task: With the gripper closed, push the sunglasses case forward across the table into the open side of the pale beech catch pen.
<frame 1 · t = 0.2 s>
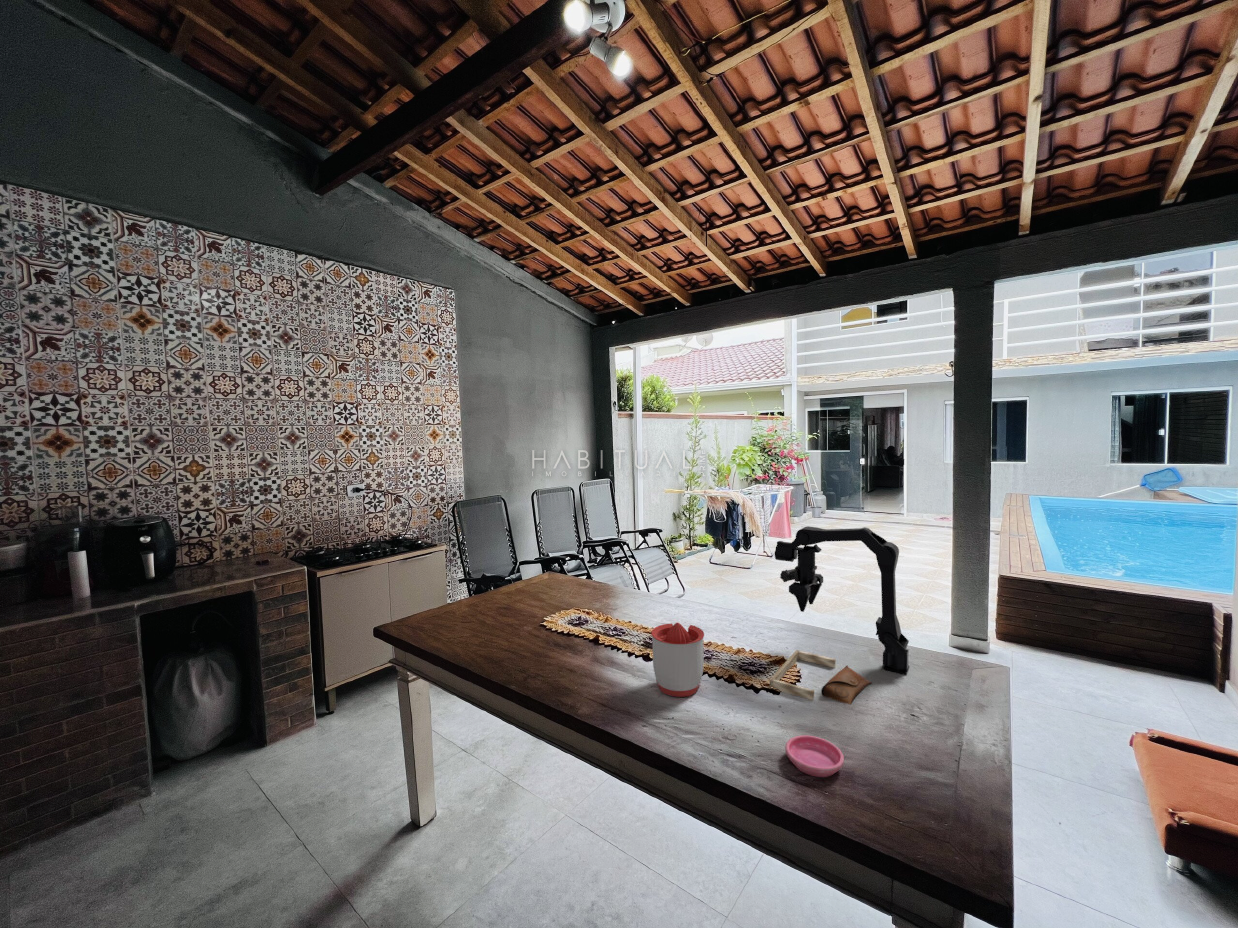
hand: (806, 607, 175), 14 cm above the table, fingers open, 9 cm apart
citrus juicer: (678, 687, 151), on the table
saucer: (814, 764, 115), on the table
sunglasses case: (847, 690, 148), on the table
catch pen: (804, 677, 155), on the table
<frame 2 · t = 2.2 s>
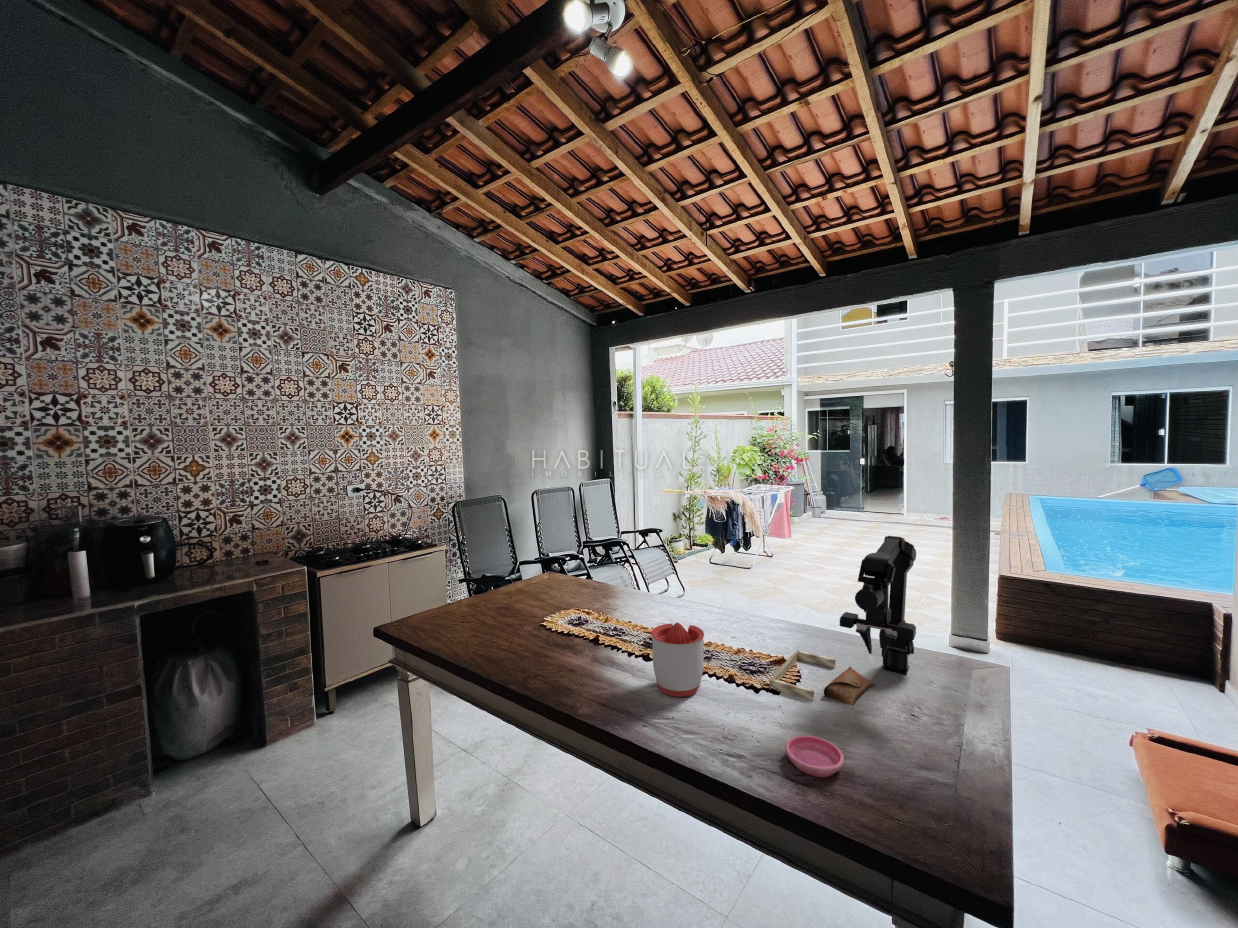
hand: (876, 654, 143), 12 cm above the table, fingers open, 3 cm apart
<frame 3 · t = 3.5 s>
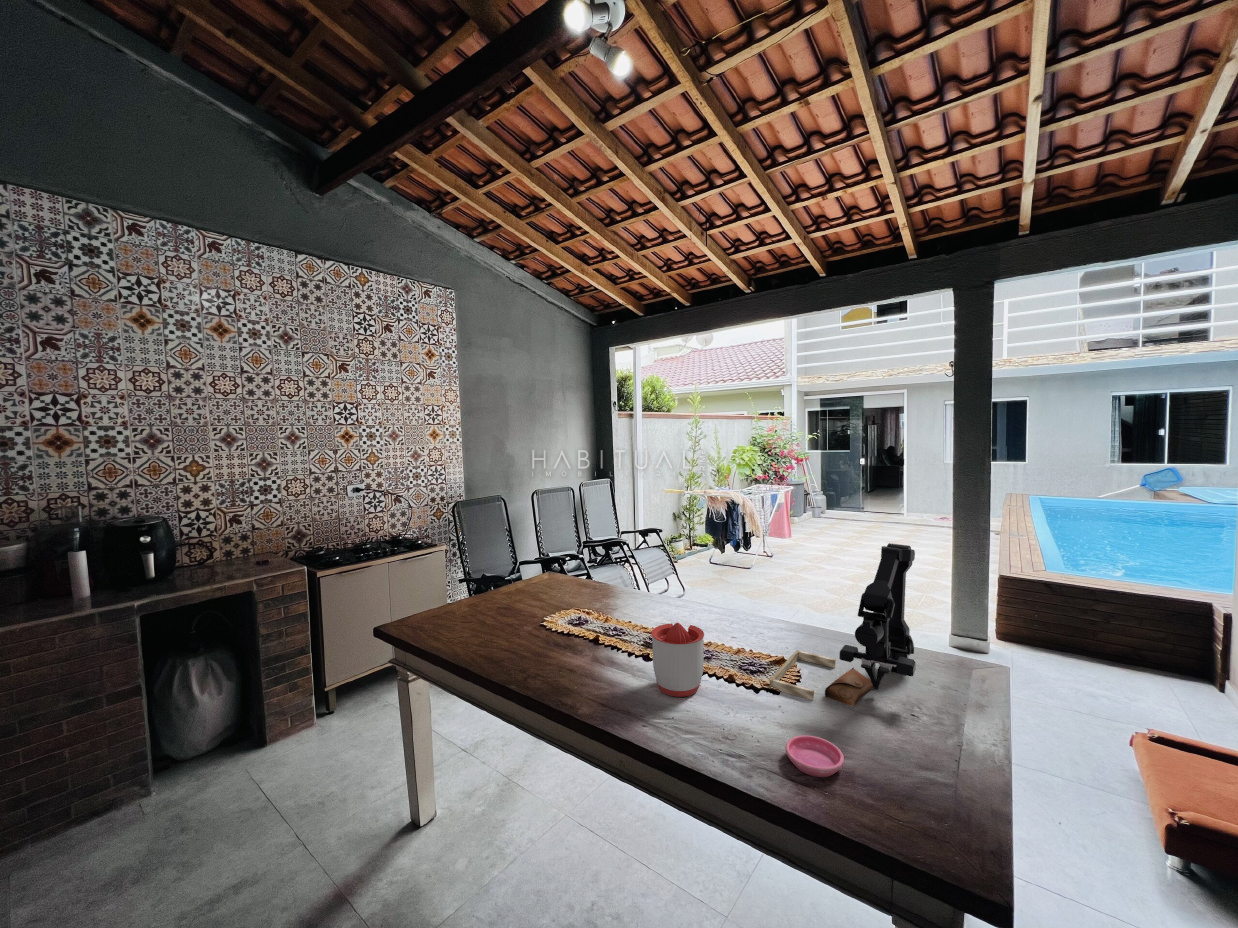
hand: (876, 688, 143), 2 cm above the table, fingers closed
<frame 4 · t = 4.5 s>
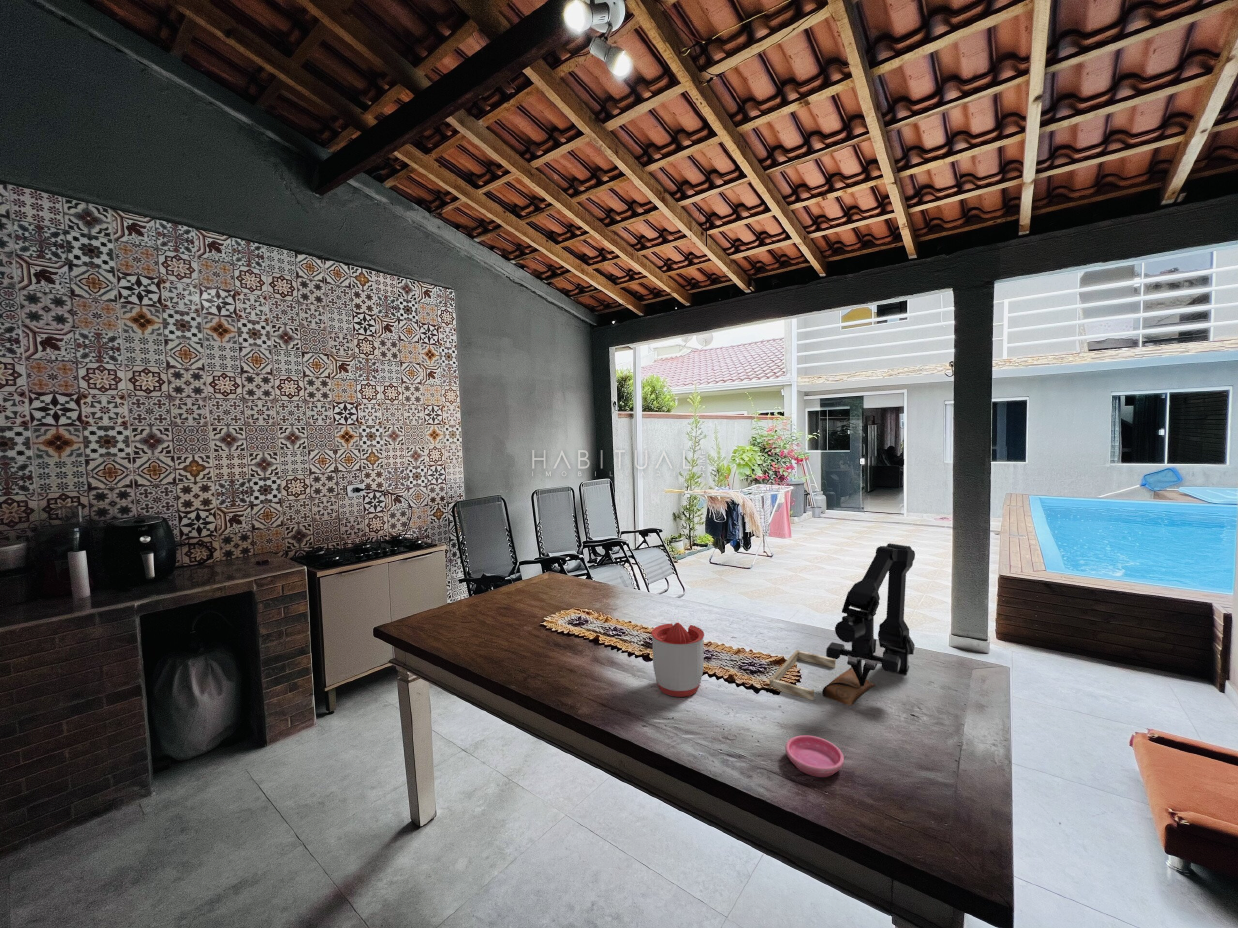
hand: (862, 685, 145), 2 cm above the table, fingers closed
sunglasses case: (849, 692, 147), on the table, touching gripper
everything else where it was.
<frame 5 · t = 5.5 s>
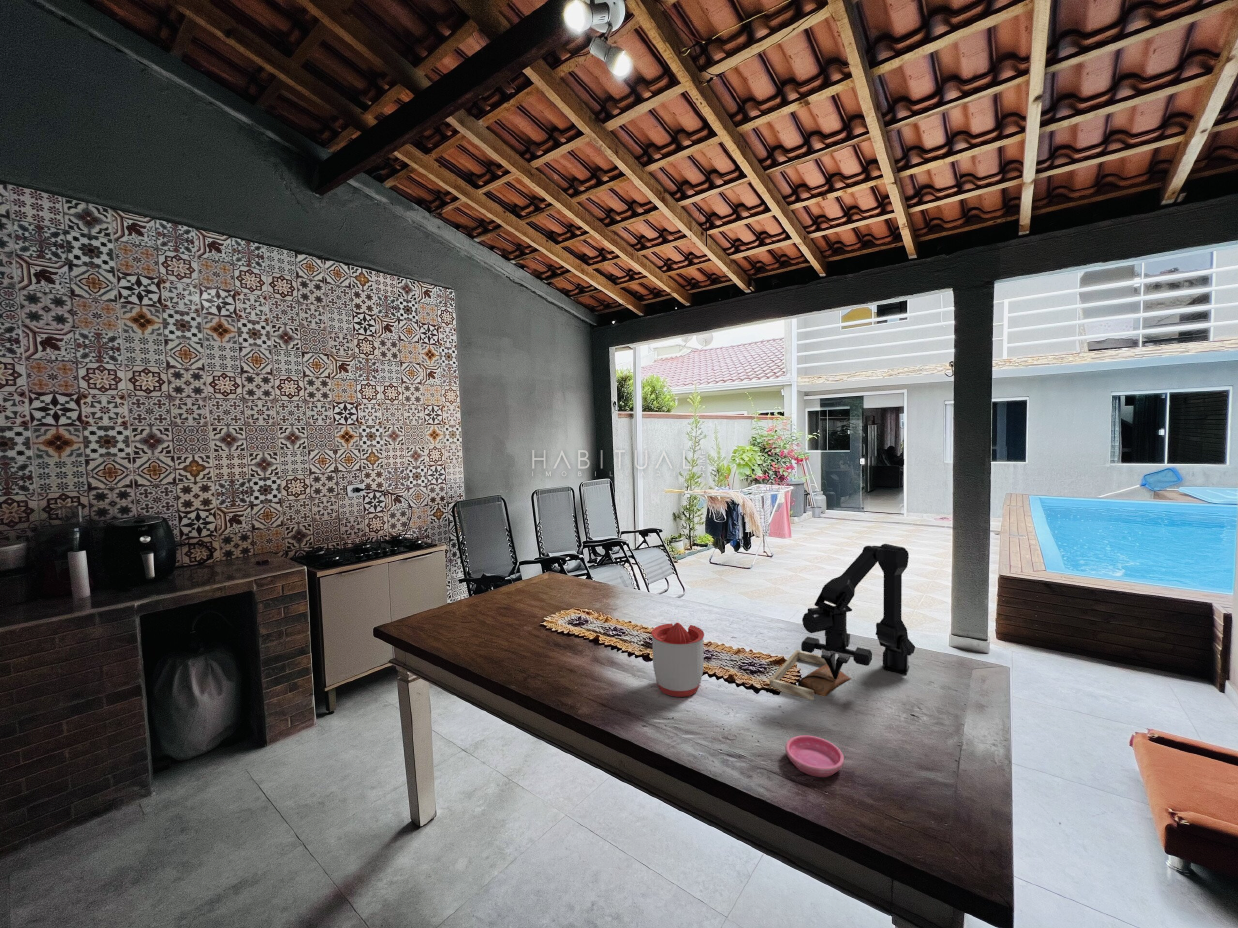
hand: (835, 678, 150), 2 cm above the table, fingers closed
sunglasses case: (825, 685, 152), on the table, touching gripper
everything else where it was.
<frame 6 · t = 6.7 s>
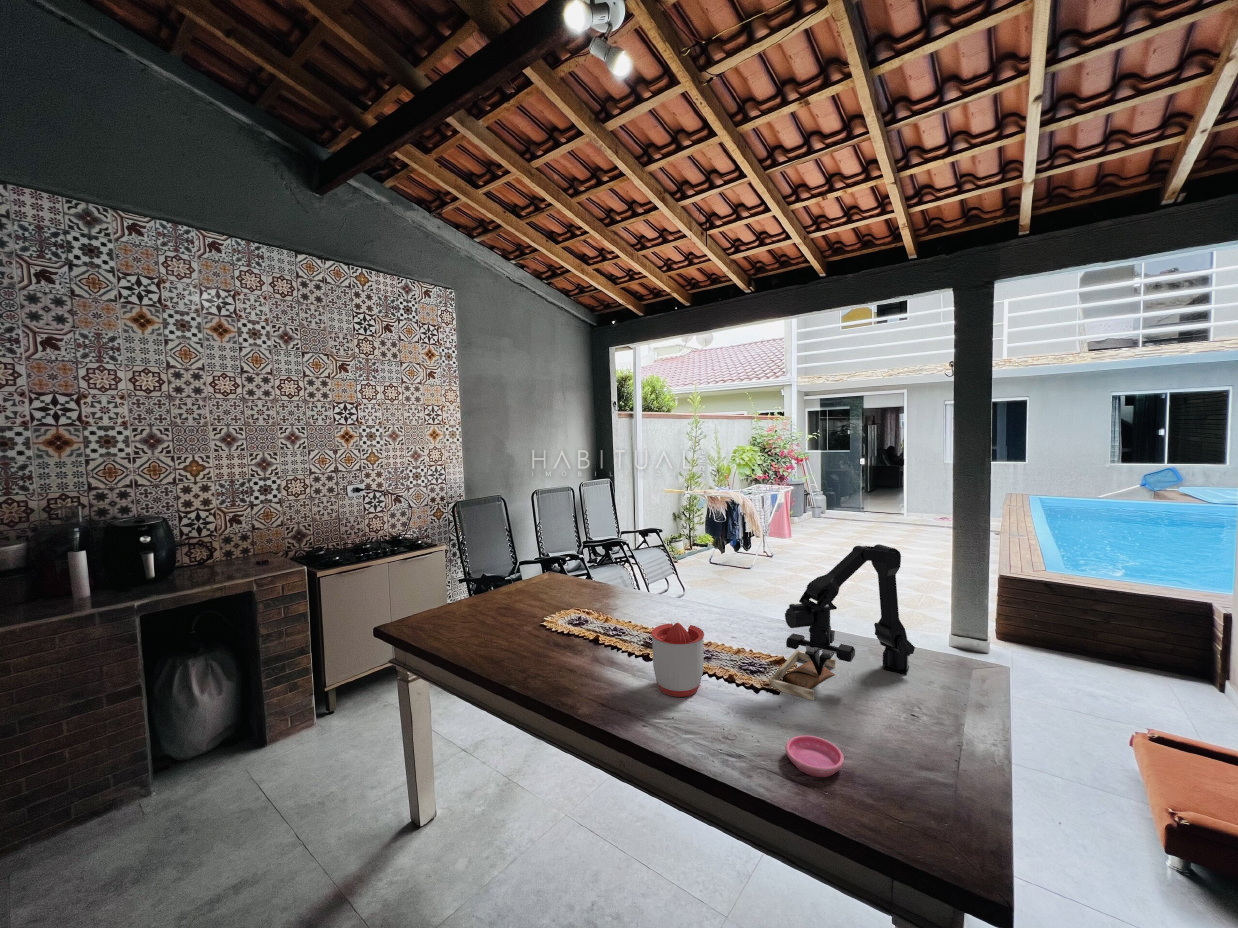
hand: (819, 674, 153), 2 cm above the table, fingers closed
sunglasses case: (809, 681, 155), on the table, touching gripper
everything else where it was.
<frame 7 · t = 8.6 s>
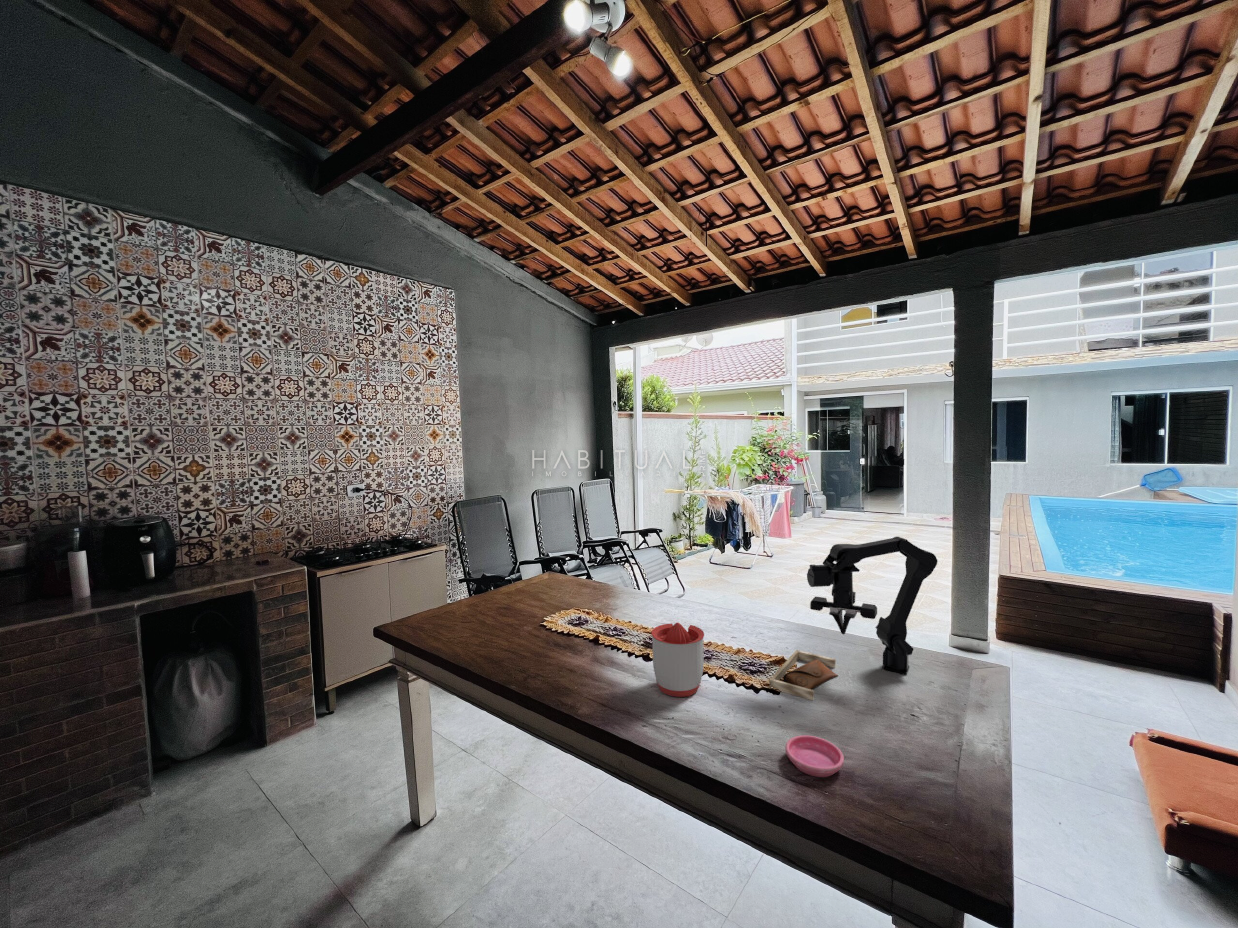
hand: (843, 633, 159), 12 cm above the table, fingers closed
sunglasses case: (811, 681, 154), on the table
everything else where it was.
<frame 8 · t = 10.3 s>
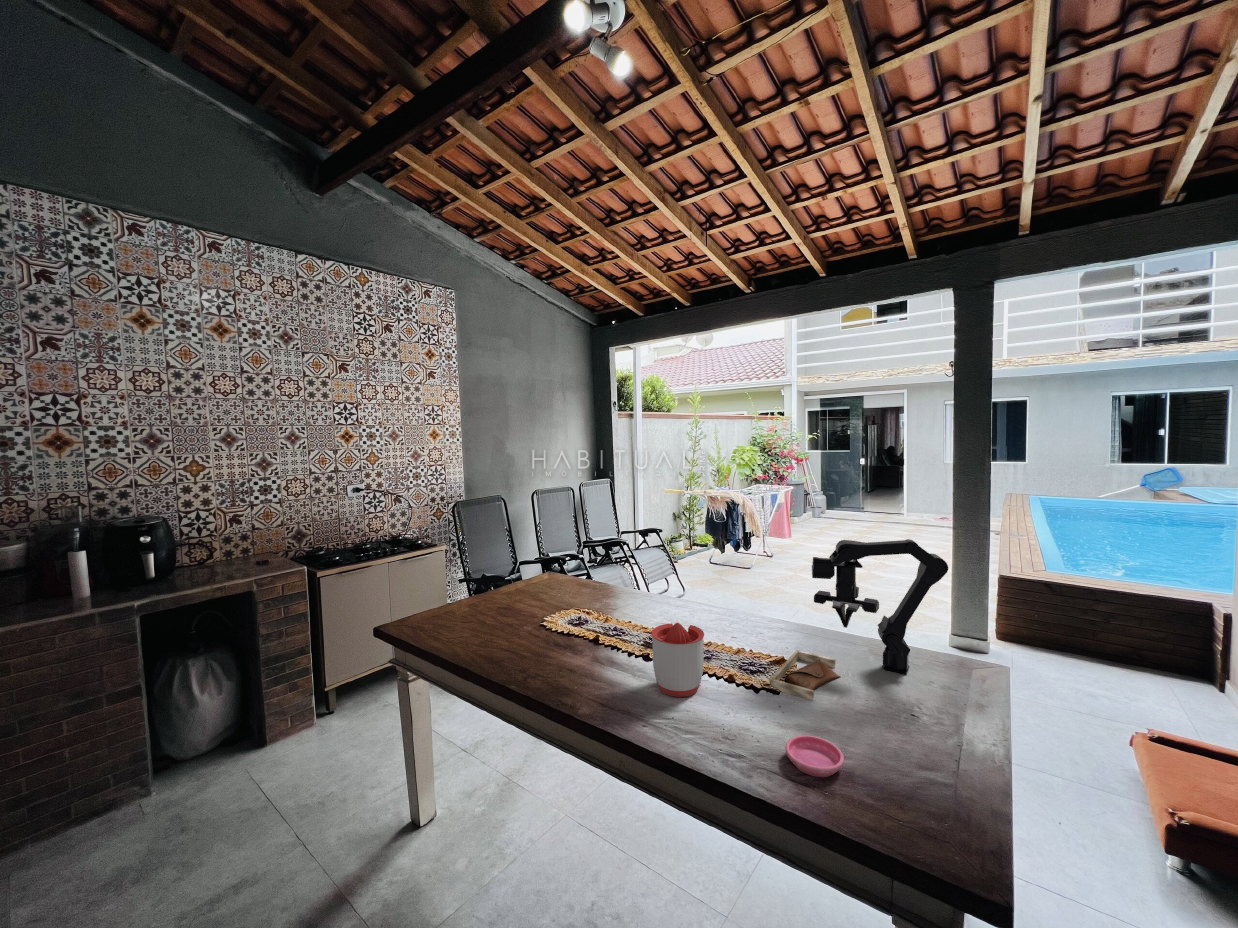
hand: (845, 627, 164), 12 cm above the table, fingers closed
nothing on the table moved.
at the end: sunglasses case inside the target area (3.0 cm from its centre), on the table; sunglasses case moved 9.3 cm from its start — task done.
